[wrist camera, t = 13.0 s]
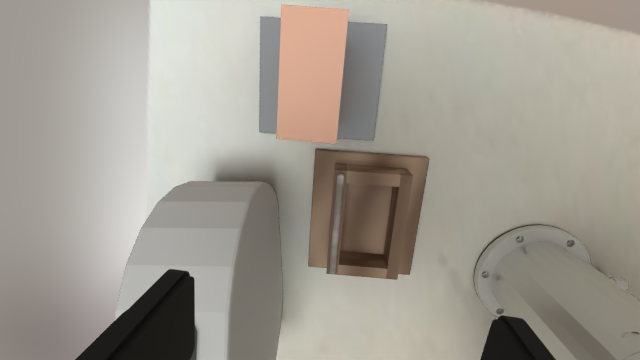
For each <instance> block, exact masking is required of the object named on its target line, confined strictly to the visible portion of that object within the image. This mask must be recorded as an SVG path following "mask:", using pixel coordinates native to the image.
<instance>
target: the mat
mask: <svg viewBox="0 0 640 360" xmlns="http://www.w3.org/2000/svg"><path fill="white" fill-rule="evenodd" d="M386 29H387V24H373V23H357V22H348V25H347V36H346V47H345V57H344V68H343V78H342V89H341V100H340V110H339V121H338V131H337V138H345V139H359V140H373V141H374V133H375V125H376V116H377V107H378V99H379V90H380V81H381V72H382V64H383V55H384V46H385V38H386ZM280 32H281V18H276V17H260V115H259V132H263V133H276V134H277V110H278V84H279V58H280Z"/></svg>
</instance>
